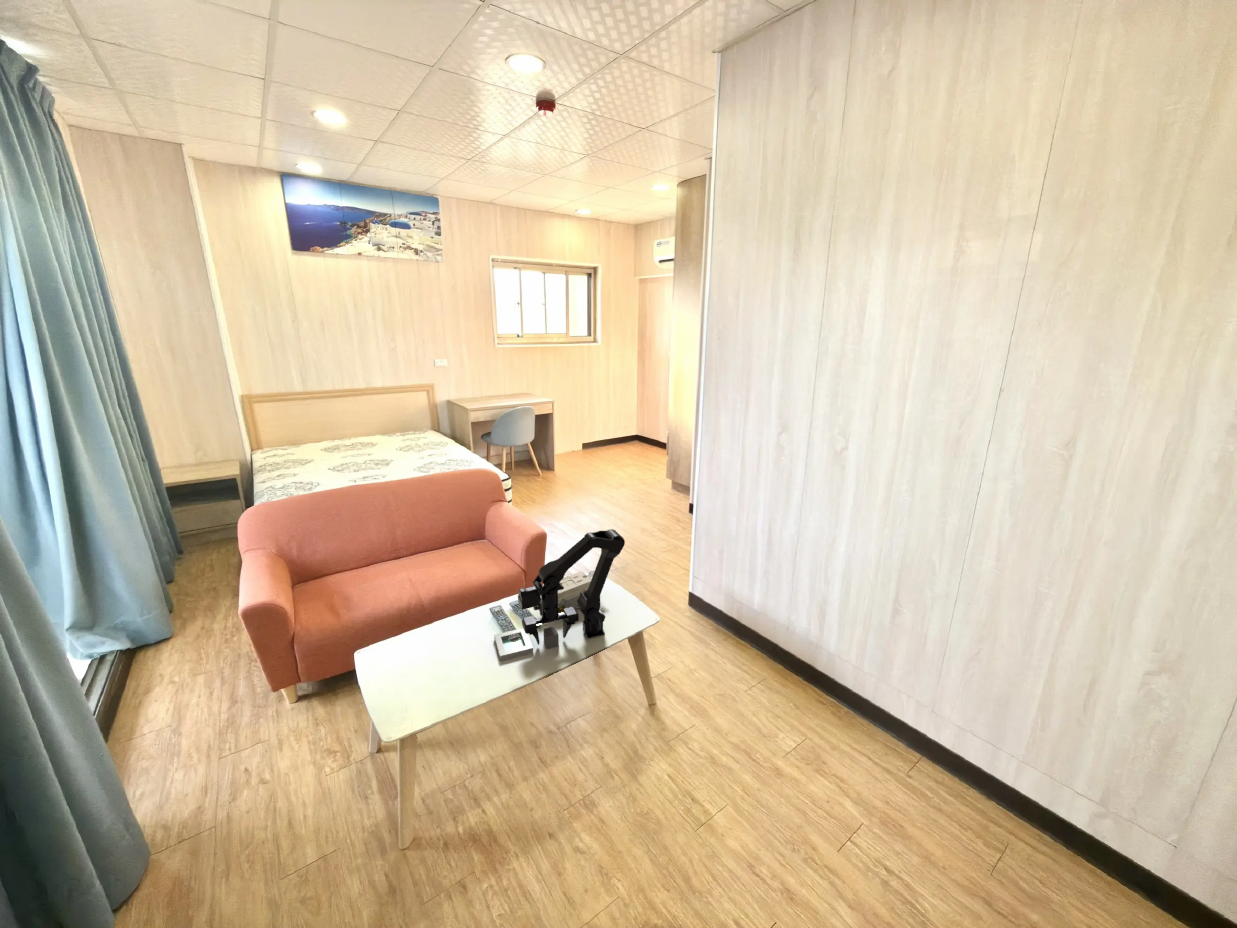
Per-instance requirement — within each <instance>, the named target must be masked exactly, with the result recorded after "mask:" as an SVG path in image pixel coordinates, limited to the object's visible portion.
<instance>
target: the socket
mask: <svg viewBox="0 0 1237 928" xmlns="http://www.w3.org/2000/svg"><path fill="white" fill-rule="evenodd" d="M513 634H519V635H520V636H521V638H520V640H518V641H516V642H511V641H510V640H508V638H509V636H511V635H513ZM493 636H494V637H493V639H494V642H495V647H496V650H497V654H498V657H499V661H500V662H503V661H507V660H511V659H513V658H518V657H522V656H525V655H526V656H527V655H529V654H533V653H534V648H533V644H532V642H531V639H530V636H529V634H526V633H525V631H524V628H523V627H522V628H517V629H514V630H509V631H504V632H501V633H497V634H494V635H493Z"/></svg>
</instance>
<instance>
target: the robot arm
mask: <svg viewBox="0 0 1237 928" xmlns="http://www.w3.org/2000/svg"><path fill="white" fill-rule="evenodd" d="M625 543H626V541H625V539H624V537H623V536H622V535H620V534H619V532H618V531H616V530H615V529H613V528H612V529H607V530H597V531H594V532H591V531H590V532H586V533H585V534H584V536H583V537H582V538H581V539H580V540H579V541H577V543H575V544H574V545H573V546H572V547H571V548H569V549H568V550H567V551H565V552H564V553H563V554H562V555H561V556H560V557H559V558H557V559H556V560H555V559H554V560H550V561H549V562H547V563H546V564H544V565H543V566H541V567H540V568H539V570H538V574H537V575H536V577H535V578H534V580H533V581H532V585H533V586H529V587H525V588H519V591H518V593H517V594H518V595H517V601H518V607H519V609H520V610H521V611H523V610H526V609H530V608H533V610H534V611H539V615H540V616H541V618H537V619H535V617H534V615H532V616H531V615H530V616H525V617H523V618H522V620H521V626H522V628H524V631H525V633H526V634H528V635H530V636H531V635H532V636H533V637H534V639H535V640H536V643H537V645H540V637H539V631H538V627H539V626H543V625H547V624H552V623H555V622H557V621H558V622H559V621H562V638H563V639H565V638H566V636H567V634H568V633H569V630H570V629H571V628H572V627H573V625H575V624H576V623H577V622H579V618H580V617H579V613H578V612H577V609H578V610H579V611H580V612H581V614H582V615H583V620H582V632H583V633H584V635H585V636H586V637H587V639H591V638H596V637H599V636H603V635H605V634H606V632H605V630H604V622H605V620H606V615H605V613H604V612H603V611H602V610H601V609H600V608H601V594H602V592H603V589H604V586H605V583H606V581H607V579H608V575H609V574H610V570H611V567H612V564H613V563H614V559H615V558H617V557H618V556H620V554H621V553H622V550H623V549H624V547H625ZM592 549H601V550H600V551H601V552H600V556H599V557H598V561H597V564H596V565H595V566H596V567H595V569H594V571H595V572H594V574H593V577H591V578H592V580H591V582H590V585H589V588H588V590H587V591H585V592H584V593H583V592H580V596H579V598H578V600H577V602H578V608H577V609H575V608H574V607H569V608H565V609H563V613H560V614H559V606H558V590H562V589H564V587H563V585H562V584H561V583H560V581H561V580H562V579H563V578H564V577H565V575H566V573H567V571H569V569H571V568H572V567H573V566H574V565H575V564H576V563H577V562H579V561H580V560H581V559H582V558H584V556H586V555H587V554H588V553H589V552H590V551H591V550H592ZM540 595H541V596H540Z"/></svg>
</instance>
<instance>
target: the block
mask: <svg viewBox="0 0 1237 928" xmlns="http://www.w3.org/2000/svg"><path fill="white" fill-rule="evenodd" d="M542 629H543V642H544V644H545V646H546V650H549V649H553V648H557V647H560V644H559V643H560V642H559V641H560V640H559V632H558V630H557V628H556V627H555V625H553V626H549V627H544V628H542Z"/></svg>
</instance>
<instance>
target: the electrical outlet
mask: <svg viewBox="0 0 1237 928" xmlns="http://www.w3.org/2000/svg"><path fill="white" fill-rule="evenodd" d="M594 572H595V570H591V571H589V572H588V573H587V574H586V573H585V572H584V571H582V570H581V571H578V572H575V573H573V574H570V575H567V576H564V577H563V579H562V580H561V581H560V583H561V584H562V585H563V587H564V589H562V590H558V606H559V614H560V613H563V609H565V608H569V607H574V608H575V610H577V609H579V608H578V602H577V600H578V598H579V596H580V592H583V593H584V592H585V591H587V590H588V588H589V585H590V582H591V580H592V577H593V574H594ZM540 596H541V595H540Z"/></svg>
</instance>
